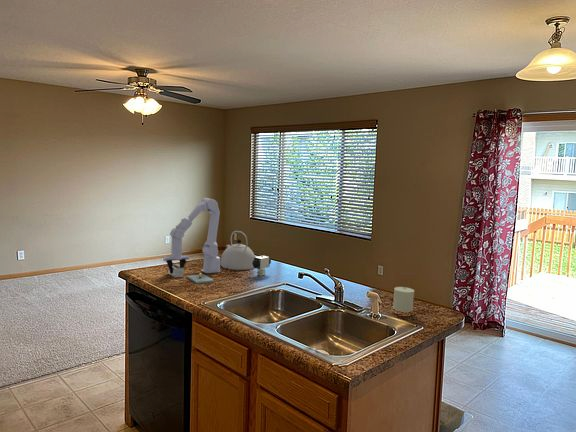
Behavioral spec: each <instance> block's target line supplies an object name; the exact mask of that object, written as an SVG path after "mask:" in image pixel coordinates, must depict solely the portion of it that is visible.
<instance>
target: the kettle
mask: <svg viewBox="0 0 576 432" xmlns="http://www.w3.org/2000/svg"><path fill="white" fill-rule="evenodd" d="M235 233H241V234H242V235H243V236H244V238H245V241H246V244H242V239H236V240H237V241H236V242H237V243H234V244H233V234H235ZM248 244H249V243H248V237H247V235H246V234H245V233H244V232H243V231H240V230H235V231H232V233H231V235H230V244H226V245H225V246H226V248H225V250H224V251H223V252H222V255H221V257H220V265H221V266H222V268H224V269H227V268H228V270H234V271H235V270H238V271H240V270H241V271H243V270H251V269H255V268H254V266H253V264H252V262H253V260H254V257H256V255H255V253H254V251H253V250H252V249H251V248H250V247H249V246H248ZM221 266H220V267H221Z"/></svg>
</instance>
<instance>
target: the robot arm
mask: <svg viewBox="0 0 576 432" xmlns="http://www.w3.org/2000/svg"><path fill="white" fill-rule="evenodd" d="M206 211H207V213H209V223H208V230H207V237H206V238H207V239H206V241H205V242H204V243H203V244H204V245H203V246H202V250H201V251H202V254H203V269H200V270H201V272H202V273H205V274H212V273H214V274H215V273H220V272H221V266H220V264H221V257H220V256H218V255H219V249H218V248H219V247H218V246H219V245H218V242H217V236H218V228H219V221H220V214H221V212H220V211H221V210H220V208H219V203H218V201H217V200H215V199H213V198H208V197H203V198H201V200H200V201H199V202H198V203H197V205H196V206H195V207H194V208H193V210H192V211H191V212H190V214H189V215H188V216H187V217H184V218H181V219H180V222H179V223H178V224H177V225H175V227H174V228H172V229H171V231H170V232H169V235H170V236H171V249H170V251H171V252H170V256H165V257H163V258H162V259H163V262H166V264H167V267H168V271H169V270H170V273H171V274H172V266H173V265H174V262H173V261H179V265H180V266H181V267H183V268H184V267H185V265H186V264H187V261H188V260H190V256H189V255H183V254H182V253H183V252H182V251H183V238H184V236H185V233H186V232H187V231H188V229H190V227H191V226H192V225H193V221H194V220H195V219H196V218H197V217H198V216H199V215H200V214H201V213H202V212H206ZM184 269H185V268H184Z"/></svg>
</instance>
